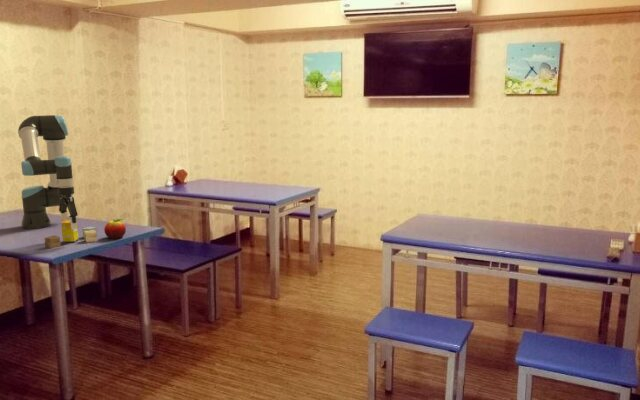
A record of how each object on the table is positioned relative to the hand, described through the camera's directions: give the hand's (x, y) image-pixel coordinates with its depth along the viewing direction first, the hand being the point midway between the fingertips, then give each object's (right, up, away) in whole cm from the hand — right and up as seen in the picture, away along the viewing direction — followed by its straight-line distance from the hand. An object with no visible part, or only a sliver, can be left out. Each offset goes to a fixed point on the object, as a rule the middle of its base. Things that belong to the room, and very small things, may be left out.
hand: (69, 227), depth 271 cm
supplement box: (0, -8, +2) cm, 8 cm away
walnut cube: (-5, -9, -8) cm, 13 cm away
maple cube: (+10, -7, +3) cm, 13 cm away
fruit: (+21, -6, +9) cm, 23 cm away
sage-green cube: (+6, -6, +11) cm, 14 cm away
